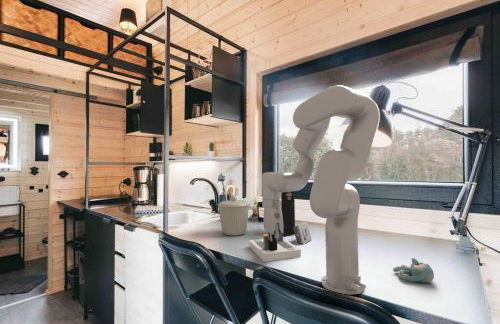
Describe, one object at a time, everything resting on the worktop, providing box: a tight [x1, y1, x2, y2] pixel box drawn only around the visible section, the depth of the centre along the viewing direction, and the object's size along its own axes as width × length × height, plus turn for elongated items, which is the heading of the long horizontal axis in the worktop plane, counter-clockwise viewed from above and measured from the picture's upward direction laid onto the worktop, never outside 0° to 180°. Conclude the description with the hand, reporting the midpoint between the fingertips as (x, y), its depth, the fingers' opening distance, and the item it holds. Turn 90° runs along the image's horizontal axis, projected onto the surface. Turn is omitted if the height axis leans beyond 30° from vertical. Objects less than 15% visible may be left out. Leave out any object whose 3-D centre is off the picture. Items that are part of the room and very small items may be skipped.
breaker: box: [277, 233, 284, 241], centre depth 119 cm, size 2×3×5 cm, turn 107°
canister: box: [217, 195, 251, 237], centre depth 145 cm, size 18×18×21 cm
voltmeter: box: [281, 191, 296, 237], centre depth 145 cm, size 16×9×25 cm, turn 25°
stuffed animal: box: [392, 257, 435, 284], centre depth 85 cm, size 11×7×12 cm
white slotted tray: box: [248, 238, 302, 263], centre depth 114 cm, size 20×16×3 cm
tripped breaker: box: [262, 233, 268, 249], centre depth 107 cm, size 2×3×6 cm, turn 107°
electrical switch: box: [293, 221, 312, 245], centre depth 128 cm, size 9×5×9 cm, turn 141°
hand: (272, 250), depth 102 cm, fingers closed
